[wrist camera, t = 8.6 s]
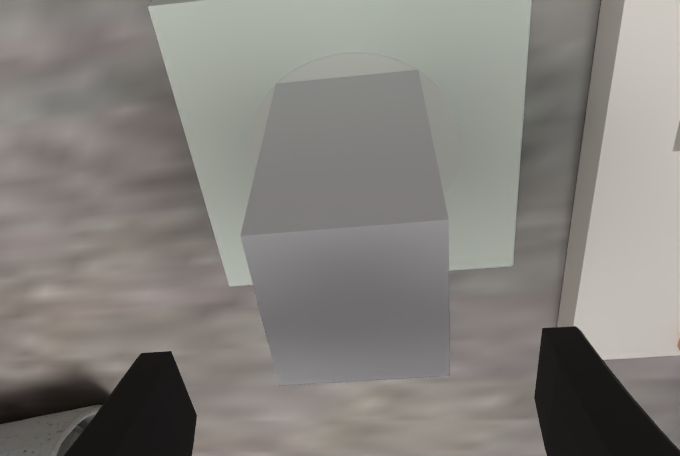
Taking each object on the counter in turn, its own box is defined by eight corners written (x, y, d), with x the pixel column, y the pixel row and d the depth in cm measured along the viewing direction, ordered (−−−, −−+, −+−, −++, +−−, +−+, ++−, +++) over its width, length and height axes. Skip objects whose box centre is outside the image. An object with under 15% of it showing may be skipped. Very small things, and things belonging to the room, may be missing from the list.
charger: (423, 202, 20) (450, 375, 15) (299, 212, 20) (279, 386, 15) (418, 69, 17) (448, 220, 12) (275, 83, 18) (240, 236, 12)
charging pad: (509, 255, 22) (513, 268, 22) (232, 275, 23) (229, 288, 23) (528, -43, 16) (535, -35, 16) (153, -1, 17) (146, 7, 17)
